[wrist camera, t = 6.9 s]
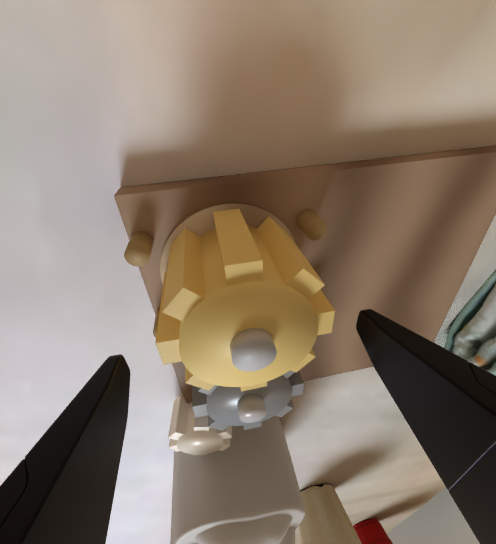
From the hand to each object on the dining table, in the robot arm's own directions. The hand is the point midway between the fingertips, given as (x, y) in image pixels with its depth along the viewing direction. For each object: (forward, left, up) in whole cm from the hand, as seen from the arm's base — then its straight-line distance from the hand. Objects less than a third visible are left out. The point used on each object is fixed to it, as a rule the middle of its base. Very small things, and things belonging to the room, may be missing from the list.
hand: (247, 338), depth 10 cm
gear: (0, +8, -5) cm, 9 cm away
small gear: (+3, +13, -6) cm, 14 cm away
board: (-5, +4, -6) cm, 9 cm away
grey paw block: (+3, +23, -6) cm, 24 cm away
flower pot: (-8, +43, -6) cm, 44 cm away
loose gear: (0, 0, -5) cm, 5 cm away
